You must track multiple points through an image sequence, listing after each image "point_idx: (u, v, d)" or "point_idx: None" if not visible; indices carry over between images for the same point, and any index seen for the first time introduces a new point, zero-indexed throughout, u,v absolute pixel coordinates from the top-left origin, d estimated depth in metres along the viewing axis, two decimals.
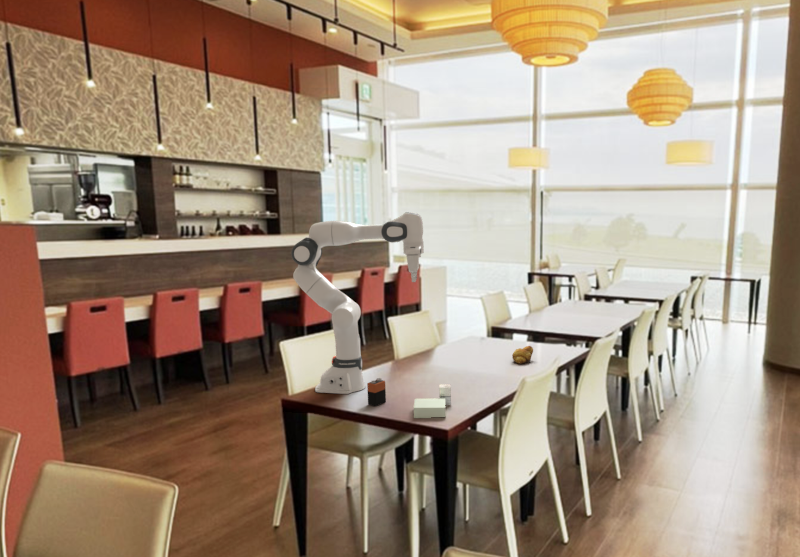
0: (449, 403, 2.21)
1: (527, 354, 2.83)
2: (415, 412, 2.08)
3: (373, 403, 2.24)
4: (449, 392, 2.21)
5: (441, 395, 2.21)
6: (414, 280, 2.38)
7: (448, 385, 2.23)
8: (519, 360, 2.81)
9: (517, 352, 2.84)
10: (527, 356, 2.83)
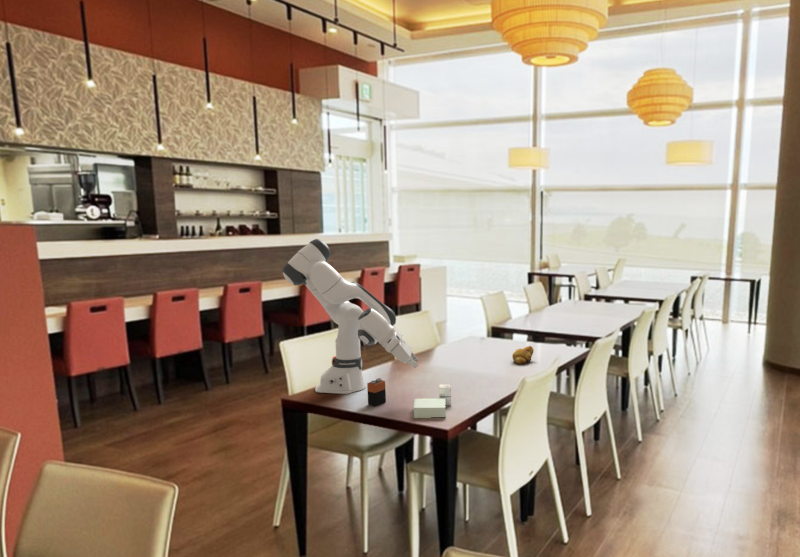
0: (449, 403, 2.21)
1: (527, 354, 2.83)
2: (415, 412, 2.08)
3: (373, 403, 2.24)
4: (449, 392, 2.21)
5: (441, 395, 2.21)
6: (416, 365, 2.18)
7: (448, 385, 2.23)
8: (519, 360, 2.81)
9: (517, 352, 2.83)
10: (527, 356, 2.82)
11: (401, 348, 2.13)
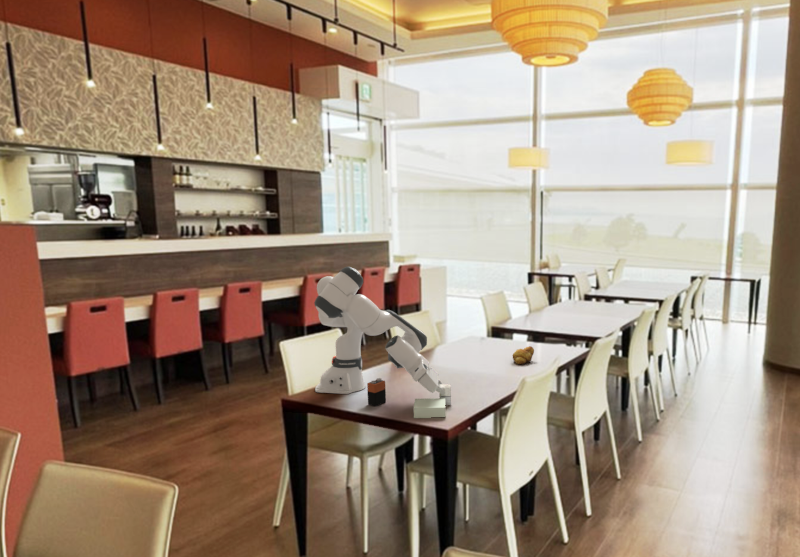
0: (449, 403, 2.21)
1: (527, 355, 2.82)
2: (415, 412, 2.08)
3: (373, 403, 2.24)
4: (449, 392, 2.21)
5: (441, 395, 2.21)
6: (443, 392, 2.20)
7: (448, 385, 2.23)
8: (519, 360, 2.80)
9: (517, 352, 2.83)
10: (527, 357, 2.82)
11: (428, 377, 2.14)
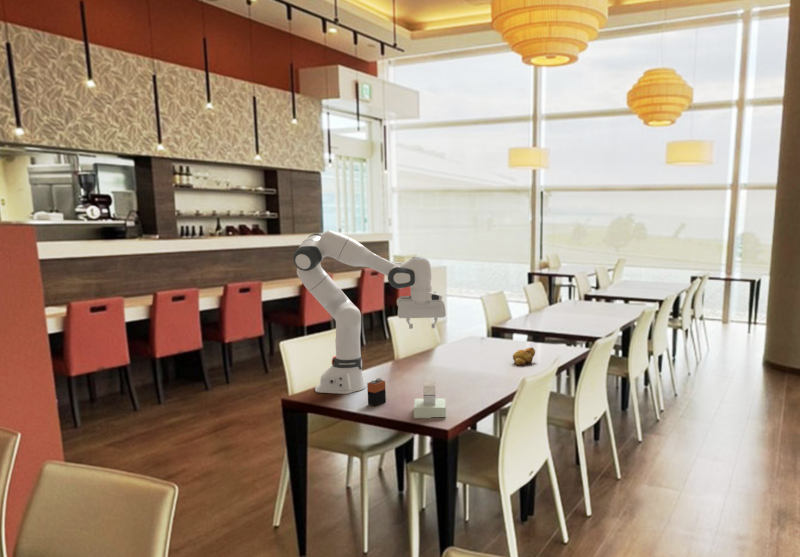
0: (433, 402, 2.11)
1: (527, 356, 2.80)
2: (415, 412, 2.08)
3: (373, 403, 2.24)
4: (433, 390, 2.10)
5: (425, 394, 2.11)
6: None
7: (433, 383, 2.13)
8: (518, 361, 2.79)
9: (517, 353, 2.81)
10: (527, 358, 2.80)
11: None
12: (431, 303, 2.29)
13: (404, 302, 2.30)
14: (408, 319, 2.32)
